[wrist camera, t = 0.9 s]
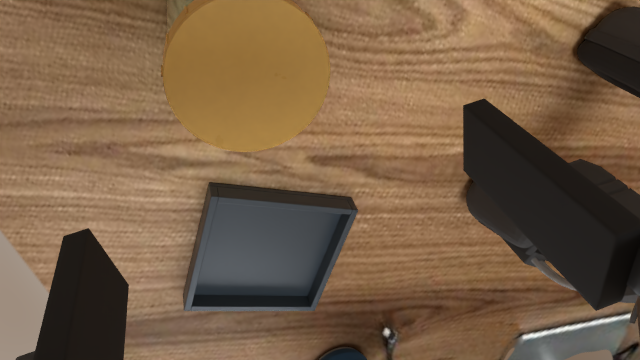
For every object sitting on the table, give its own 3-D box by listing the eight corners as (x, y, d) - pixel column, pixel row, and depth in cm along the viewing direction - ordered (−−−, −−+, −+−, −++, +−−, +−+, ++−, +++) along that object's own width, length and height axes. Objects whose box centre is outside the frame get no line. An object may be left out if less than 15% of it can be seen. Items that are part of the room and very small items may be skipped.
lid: (152, 123, 24) (151, 140, 23) (176, -39, 21) (177, -31, 19) (296, 145, 28) (304, 161, 26) (341, 8, 24) (353, 18, 22)
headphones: (612, -8, 39) (921, 91, 23) (649, 26, 42) (945, 134, 26) (451, 197, 47) (596, 372, 32) (492, 213, 50) (642, 378, 35)
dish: (182, 294, 45) (183, 311, 43) (209, 182, 38) (211, 196, 37) (309, 296, 50) (314, 311, 48) (351, 197, 43) (358, 210, 42)
